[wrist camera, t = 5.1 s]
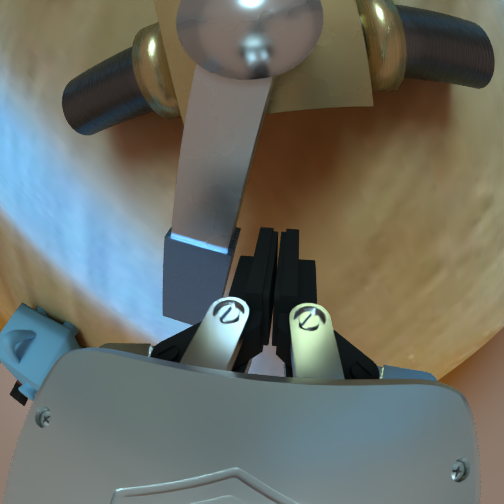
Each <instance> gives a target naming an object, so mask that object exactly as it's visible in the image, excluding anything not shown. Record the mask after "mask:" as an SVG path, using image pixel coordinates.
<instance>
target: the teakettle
mask: <svg viewBox="0 0 504 504" xmlns="http://www.w3.org/2000/svg"><path fill="white" fill-rule="evenodd" d="M77 333H78V330H77V328H76V327H75V326H74V325H73V324H71V323H70V322H67V321H65V322H64V324H63V325H62V324H60V323H58V322H56V321H54V320H53V319H51V318H49V317H48V315H47V314H46V312H45V311H44V310H43V309H42V308H40V307H38V306H37V307H36V310H34V309H32V308H31V307H29V306H27V305H26V304H24V303H21V305H20V306H19V307H18V309H17V310H16V312H15V313H14V314H13V316H12V317H11V318H10V320H9V321H8V323H7V324H6V326H5V327H4V328H3V330H2V331H1V333H0V363H1V362H2V363H3V364H4V366H5V367H6V368H7V369H8V370H9V371H10V372H11V373H12V374H13V375H14V376H15V377H16V379H17V380H18V381H19V382H20V383H21V384H22V386H20V387H19V388H18V389H19V391H20V392H21V393H22V394H23V395H25V396H26V397H27V398H29V399H30V400H32V401H33V400H34V398H35V394H37V392H38V390H39V388H40V387H41V385H42V383H43V381H44V379H45V378H46V376H47V374H48V373H49V371H50V370H51V368H52V367H53V365H54V364H55V362H56V361H57V360H58V359H59V358H60V357H61V356H62V355H63V354H65V353H67V352H69V351H72V350H75V349H81V348H83V347H82V346H80V345H79V344H78V342H77V340H76V338H75V335H76V334H77Z"/></svg>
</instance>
